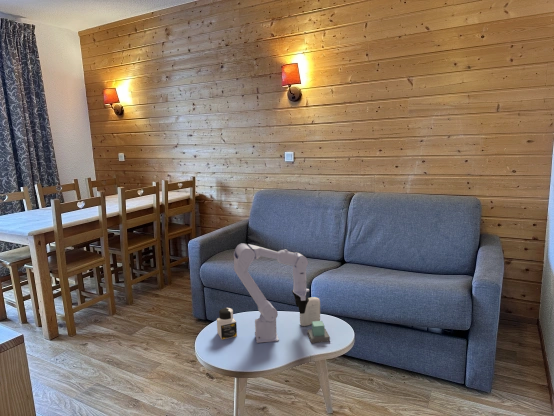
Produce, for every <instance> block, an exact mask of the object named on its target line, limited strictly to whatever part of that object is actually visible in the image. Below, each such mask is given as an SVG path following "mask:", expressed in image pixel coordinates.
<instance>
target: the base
mask: <svg viewBox="0 0 554 416" xmlns="http://www.w3.org/2000/svg"><path fill="white" fill-rule="evenodd" d="M324 330H325V335H322V336H314V334H313V332H312V328H311V329H307V330H306V331H307V337H308V338H309V340H310V343H311V344H313V343H316V344H317V343H325V342H330V341H331V337H330V335H329V333H328V331H327V329H326V328H325V327H324Z"/></svg>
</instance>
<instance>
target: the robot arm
mask: <svg viewBox="0 0 554 416" xmlns="http://www.w3.org/2000/svg"><path fill="white" fill-rule="evenodd" d="M261 257H262V258H267V259H268V258H269V259H273V260H276V261H277V263H279V264H283V265H287V266H291V267H292V274H293V275H292V278H293V279H292V281H293V285H292V286H293V290H291V293H292V294H293V297H294V301H295V305H296V307H298V312H299V315H300V314H303V313H305V309H306V305H307V303H308V301H309V299H308V298H309V297H306V295H307V292H308V293H309V292H310V289H309V288H307V267H308V265H309V261H308V258H307V257H306V256H304V255H303V254H302V253H299V252H296V251H294V252H292V251H289V250H288V249H285V248H284V249H280V250H278V251H276V250H272V249H270V248H265V247H262V246H258V245H254V244H249V243H248V244H247V243H242V242H241V243H239V244H237V246H236V247H235V250H234V251H233V258H234V260H233V262H234V263H233V264H234V265H233V270H234V273H236V276H237V277H238V278H239V280H240V282H241V283H242V284H243V285H244V287H245V289H246V290H247V291H248V293H249V295H250V296H251V298H252V299H253V301H254V302H255V304H256V306H257V310H258V312H259V318H255V319H254V330H255V331H254V336H255V341H256V343H257V344H260V343H271V342H279V336H278V333H277V317H278V310H277V309H276V308H275V307H274V306H273V304H272V302H271V301H269V300H267V298H266V296H265V295H264V293H263V292H262V291H261V289H260V288H259V286H258V284H257V283H256V282H255V280H254V278H253V277H252V276H251V274H250V272H249V268H250V266H251V264H252V263H253V261H254V260H258V259H259V258H261Z"/></svg>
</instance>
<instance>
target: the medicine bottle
mask: <svg viewBox="0 0 554 416" xmlns="http://www.w3.org/2000/svg"><path fill="white" fill-rule="evenodd" d="M218 314H219V315H218V316H219V317H218V318H216V331H217V334H218V336H219V337H220V339H221V340H222V341H223V340H228V339H231V338H236V337H237V336H238V331H237V329H238V328H237V321H236V319H235V318H234V310H233V308H230V307H223V308H220V310H218Z"/></svg>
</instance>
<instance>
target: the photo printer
mask: <svg viewBox="0 0 554 416" xmlns="http://www.w3.org/2000/svg"><path fill="white" fill-rule="evenodd" d="M307 298H308V299H309V301H308V303H307V305H306V309H305V313H303V314H300V313H299V323H300V326H302V327H307V326H310V325H311V326H312V322H314V321H321V300H320V298H318V297H314V296H313V297H307Z"/></svg>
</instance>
